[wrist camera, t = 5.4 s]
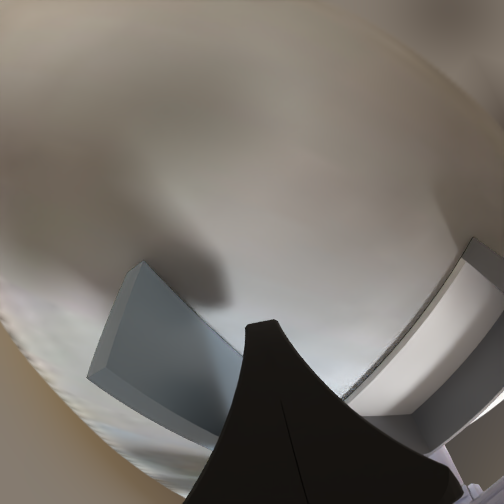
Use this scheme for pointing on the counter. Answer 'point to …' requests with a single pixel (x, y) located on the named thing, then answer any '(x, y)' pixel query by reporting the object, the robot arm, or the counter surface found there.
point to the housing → (443, 360)
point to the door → (165, 360)
